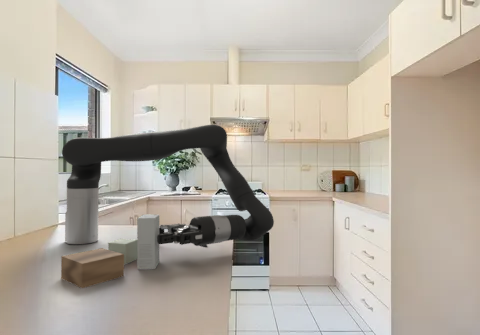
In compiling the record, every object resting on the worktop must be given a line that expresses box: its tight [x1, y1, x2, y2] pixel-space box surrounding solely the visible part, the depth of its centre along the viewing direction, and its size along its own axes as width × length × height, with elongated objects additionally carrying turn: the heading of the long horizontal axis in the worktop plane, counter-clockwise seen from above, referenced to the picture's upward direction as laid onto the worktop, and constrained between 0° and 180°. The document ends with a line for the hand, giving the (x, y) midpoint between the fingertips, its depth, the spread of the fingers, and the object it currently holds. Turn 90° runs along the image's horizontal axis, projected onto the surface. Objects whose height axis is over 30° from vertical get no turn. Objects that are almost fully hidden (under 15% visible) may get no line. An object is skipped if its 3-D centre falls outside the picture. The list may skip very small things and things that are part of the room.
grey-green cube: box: [107, 238, 137, 265], centre depth 81 cm, size 5×5×5 cm
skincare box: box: [136, 213, 160, 271], centre depth 76 cm, size 6×4×12 cm
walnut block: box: [60, 247, 125, 289], centre depth 68 cm, size 9×9×5 cm
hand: (151, 236), depth 77 cm, fingers open, 8 cm apart
